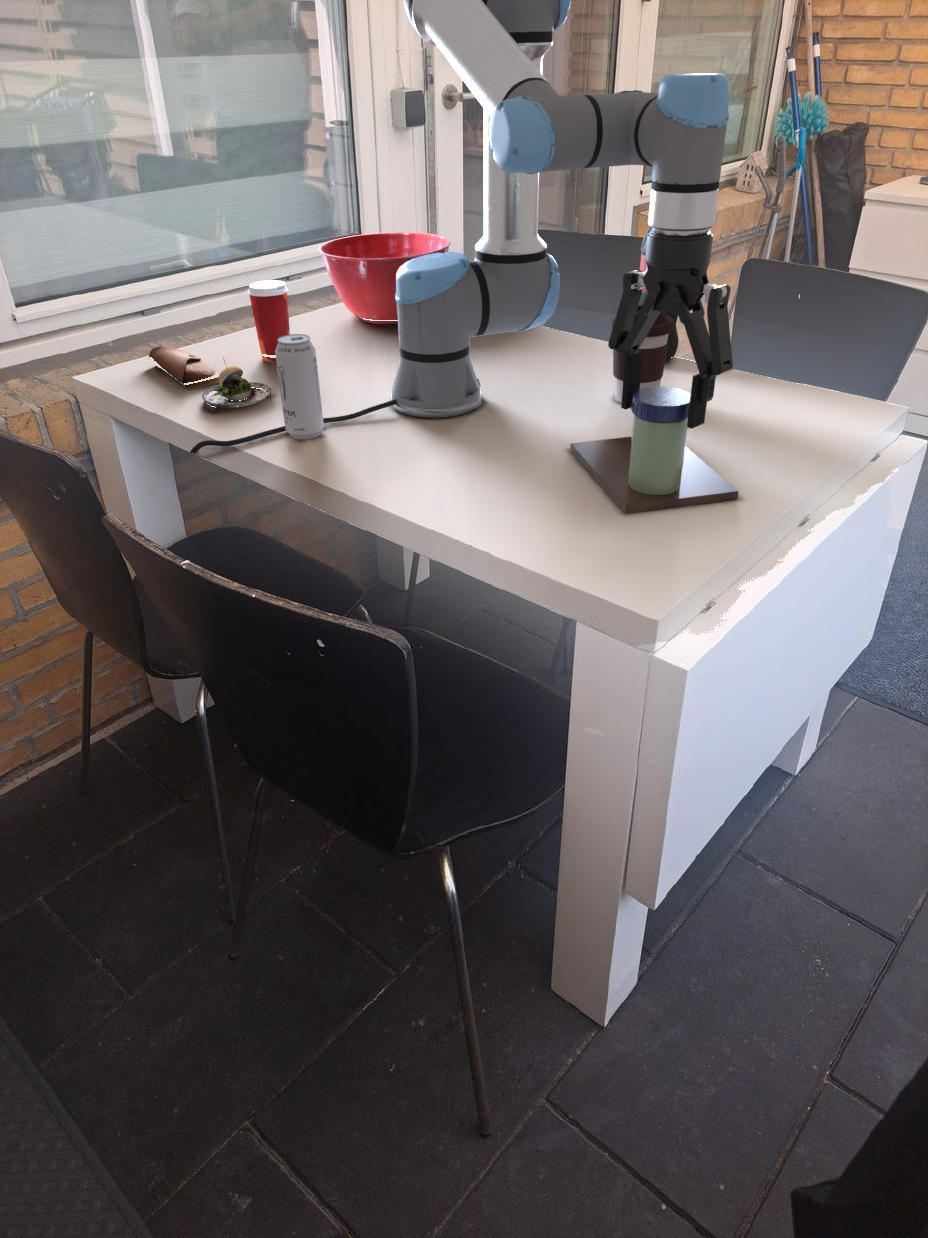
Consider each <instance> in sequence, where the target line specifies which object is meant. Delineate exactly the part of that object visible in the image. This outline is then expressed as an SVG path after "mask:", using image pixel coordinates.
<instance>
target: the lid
mask: <svg viewBox="0 0 928 1238" xmlns="http://www.w3.org/2000/svg"><path fill="white" fill-rule="evenodd" d="M690 396H691V392H689V391H687V390H685V389H682V388H677V387H672V386H661V385H660V386H655V387H646V388H642V389H639V390H637V391H635V392H634V394H633V399H632V406H631V407H630V410H631V413H632V414H633V416H634V415H635V416H637V417H639V418H641V419H645V420H648V421H654V422H676V421H681V420H684V419H687V418H688V413H689V405H690Z"/></svg>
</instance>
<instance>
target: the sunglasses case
mask: <svg viewBox="0 0 928 1238" xmlns="http://www.w3.org/2000/svg"><path fill="white" fill-rule="evenodd" d="M149 357H152V358H153V359H154V361H156V362H157V363H158V364H159V365H160V366H161V367H162V368H163V369H165V370H166V371H167V372H168V373H169V374H171V375H172V376H173V377H174V378H176V379H177V380H178V381H179V382H181V383H183V384H184V383H188V382H194V381H198V380H201V379H205V378H208V377H211V376H213V375H215V373H216V371H217V370H216V369H215V368H213V367H212V366H210V365H209V364H207V363H206V362H204V361H203V360H202V358H201V357H200V356H198V355H196V354H194V353H190V352H187V351H184V350H181V349H178V348H174V347H170V346H154V347H152V349H150V351H149V354H148V358H149ZM169 374H168V375H169ZM173 377H172V378H173ZM174 378H173V379H174ZM177 380H176V381H177ZM178 381H177V382H178ZM179 382H178V383H179ZM181 383H180V384H181ZM218 384H220V383H219V377H217V378H214V379H210V380H206V381H202V382H198V383H193V384H189V385H185V386H184V387H185V388H186V389H188V390H195V389H202V388H206V387H210V386H211V387H212V386H214V385H218Z"/></svg>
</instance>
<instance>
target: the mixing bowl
mask: <svg viewBox="0 0 928 1238" xmlns="http://www.w3.org/2000/svg"><path fill="white" fill-rule="evenodd" d="M451 243H452V242H451V240H450V239H449V238H448V237H446V236H443V235H440V234H434V233H427V232H426V233H425V232H409V231H408V232H402V231H397V232H392V231H391V232H377V233H376V232H374V233H366V234H365V233H364V234H355V235H350V236H344V237H340V238H336V239H332V240H329V241H327V242H324V243H323V244H321V245H320V246H319V247H318V251H319V253H320V254H321V256H322V260H323V263H324V266H325V268H326V271H327V273H328V276H329V278H330V281H331V282H332V285H333V287H334V289H335V292H336V293H337V294H338V296H339V298H340V300H341V301H342V303H343V305H344V306H345V308H346V309H347V310H348V311H349V312H350V313H351V314H352V315H353V316H355V317H356V316H358V317H361V318H365V319H372V320H398V315H397V302H396V299H395V294H396V275H397V272H398V270H399V268H400V267H401V266H402V265H404V264H405V263H406V262H408V261H410V260H412V259H414V258H417V257H420V256H424V255H428V254H433V253H446V252H449V250H450V249H449V248H450V246H451ZM358 317H357V318H358ZM361 318H359V319H360V320H361V321H363V322H364V323H367V324H372V325H398V321H370V320H364V319H361Z"/></svg>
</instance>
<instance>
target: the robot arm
mask: <svg viewBox="0 0 928 1238" xmlns="http://www.w3.org/2000/svg"><path fill="white" fill-rule="evenodd" d="M571 4H572V0H403V6H404V10H405V12H406V15H407V17H408V21H410V23H411V26H412V27H413V28H414V30H415V31H416V32H417V34H418V36H419V37H420V38H421V39H422V40H423V41H425V43H427V44H429V45H431V46H434V47H437V48H438V49H439V50H440V52H441V53H442V54H443V55H444V57H445V58H446V59H447V61H448V62H449V64H450V65H451V66H452V68H453V69H454V70H455V72H456V73H457V75H458V76H459V77H460V78H461V80H462V81H463V82H464V84H465V85H466V87H467V88H468V90H470V92H471V94H472V95H473V96H474V97H475V99H476V100H477V101H478V103H479V104H480V105H481V107H482V109H483V235H482V237H481V238H480V239H479V240H478V241H477V242H476V244H475V245H474V260H469V258H468V256H467V255H466V254H464V253H462V252H457V251H448V252H446V253H433V254H428V255H424V256H420V257H417V258H414V259H412V260H410V261H408V262H406V263H405V264H404V265H402V266H401V267H400V268H399V270H398V272H397V275H396V294H395V299H396V302H397V315H398V324H397V330H398V345H399V346H398V347H399V362H398V365H397V370H396V373H395V377H394V381H393V385H392V389H391V396H390V397H391V400H389V401H385V402H383V403H379V404H376V405H373V406H370V407H367V408H364V409H362V410H359V411H357V412H353V413H350V414H344V415H339V416H331V417H323V423H324V424H330V423H336V422H337V423H338V422H344V421H348V420H353V419H356V418H360V417H363V416H366V415H368V414H370V413H373V412H376V411H380V410H383V409H386V408H389V407H393V409H394V410H396V411H397V412H399V413H401V414H404V415H406V416H411V417H416V418H425V419H426V418H427V419H437V418H438V419H441V418H450V417H451V418H452V417H456V416H462V415H464V414H467V413H470V412H472V411H474V410H476V409H478V407H480V406H481V404H482V390H481V383H480V380H479V378H477V375H476V370H475V368H474V365H473V361H472V359H471V351H470V349H471V348H470V347H471V346H470V345H471V344H470V343H471V338H473V337H475V338H476V337H480V336H489V335H496V334H502V333H503V334H504V333H509V332H524V331H526V330H529V329H534V328H539V327H541V326H543V325H545V324H546V323H547V322H548V321H549V319H551V317H552V316H553V314H554V312H555V310H556V308H557V306H558V302H559V297H560V288H561V277H560V273H559V272H558V269H559V266H558V264H557V261H556V259H554V257H553V255H551V254H549V253H548V252H547V247H548V246H547V243H546V242H545V241H544V240H543V239H542V238H541V237H540V236H539V233H538V232H539V195H540V194H539V193H540V173H545V172H546V173H547V172H555V171H556V172H557V171H568V170H578V169H593V168H594V169H595V168H608V167H609V168H611V167H620V166H643V167H651V168H652V173H651V174H652V175H651V184H650V185H651V186H650V187H651V188H650V195H649V206H648V207H649V208H648V215H647V216H648V217H647V225H648V227H649V226H650V227H652V228H653V229H652V230H650V231H649V233H648V234H647V244H646V256H645V261H646V263H647V269H646V271H645V272H642V271H641V270H640V269H636V270H632V271H628V272H625V273H624V274H623V277H622V294H621V298H620V301H619V304H618V307H617V312H616V315H615V316H616V318H615V322H614V325H613V329H611V333H610V335H609V339H608V343H607V345H608V348H609V349H610V350H613V349H615V350H616V351H617V352H619V355H620V356H621V361H620V375H619V377H620V380H621V381H623V391H622V403H621V406H620V408H621V409H624V410H628V409H631V406H632V399H633V394H634V392H635V391H637V390H639V389H640V380H641V368H642V355H635V353H637V352H640V351H641V350H639V348H640V346H641V344H642V343H643V341H644V339H645V338H646V336H647V334H648V332H649V331H650V329H651V327H652V326H653V324H654V322H655V321H656V319H657V317H658V315H659V314H660V313H661V312H666V311H668V312H670V313H672V314H674V315H678V319H679V321H680V322H679V323H681V324H683V326H684V329H685V332H686V335H687V340H688V342H689V346H690V348H691V349H690V350H691V351H692V355H693V359H694V361H695V365H696V368H697V371H698V373H697V374H695V375H692V379H691V388H690V393H691V396H690V405H689V413H688V422H687V429H695V428H697V427H699V426H701V425H705V423H706V422H705V421H706V413H707V405H708V402H710V401H712V400H713V398H714V394H715V386H716V379H717V376H720V375H723V374H724V373H727V372H729V371H732V369H733V367H734V364H733V363H734V362H733V353H732V351H733V350H732V342H731V331H730V330H731V329H730V320H729V319H730V318H729V308H728V307H729V302H730V301H729V300H730V296H731V290H732V289H731V286H730V285H729V284H722V285H717V284H715V283H710V281H709V278H708V268H709V266H710V264H711V257H712V249H713V241H714V234H713V232H712V231H711V230H709V229H711V228H713V227H714V226H715V222H716V215H717V206H718V196H719V187H720V181H721V174H722V166H723V159H724V151H725V150H724V148H725V142H726V135H727V127H728V122H729V119H730V115H729V113H730V112H729V105H730V103H729V102H730V87H731V84H730V80H729V78H728V77H727V76H726V75H725V74H723V73H716V72H715V73H712V72H711V73H703V72H701V73H696V72H695V73H672V74H667V75H664V77H662V79H661V81H660V83H659V88H658V89H659V90H658V92H657V93H656V92H645V91H643V90H637V89H634V90H622V91H618V92H614V93H599V94H580V95H579V94H578V95H577V94H576V95H561V94H559V93H558V92H557V90H556V88H554V86H553V85H551V83H550V82H549V81H548V80H547V79H546V77H545V76H544V75H543V58H544V56H545V55H546V54H547V53H548V51H549V50H550V49H551V48H552V46H553V45H554V31H556V30H558V29H559V28H561V27H562V26H563V25H564V24H565V22H566V20H567V18H568V11H569V10H570V8H571ZM644 286H645V287H646V289H647V292H648V294H649V295H648V296H647V298H646V300H645V302H644V304H643V305H642V307H641V312H640V314H639V316H638V318H637V320H636V321H635V323H634V325H633V321H634V318H635V315H636V312H637V308H638V305H639V302H640V298H641V295H642V290H643V288H644ZM704 296H705V298H704V303H705V304H707V306H706V317H707V323H706V320H705V309H704V306H703V301H702V299H703V297H704ZM691 311H692V312H691ZM632 325H633V327H632ZM707 326H708V327H707ZM283 432H287V431H286V429H285V425H282V426H279V427H276V428H272V429H268V430H264V431H260V432H258V433H254V434H251V435H247V436H243V437H240V438H235V439H231V440H217V439H206V440H202V441H199V442H197V443H196V444H195V445H194V446H193V447H192V448H191V449H190V451H189V454H196V453H197V452H199V450H201V449H202V448H203V447H209V446H212V447H213V446H214V447H232V446H236V445H241V444H245V443H249V442H253V441H255V440H259V439H262V438H265V437H268V436H272V435H277V434H279V433H283Z"/></svg>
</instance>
